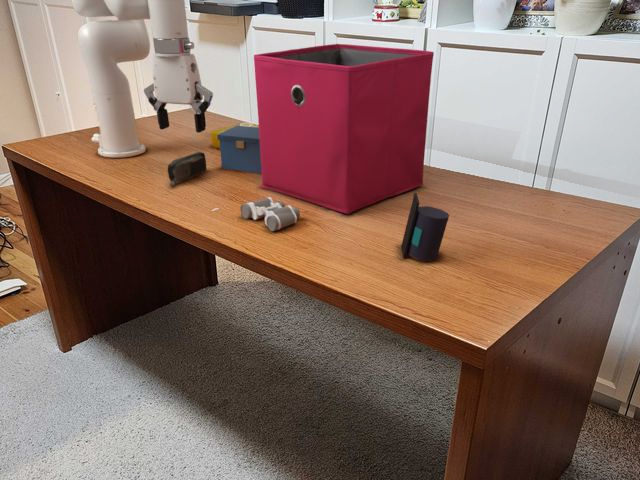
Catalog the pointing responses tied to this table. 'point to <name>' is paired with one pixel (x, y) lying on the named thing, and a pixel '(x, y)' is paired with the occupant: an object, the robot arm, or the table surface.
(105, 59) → the robot arm
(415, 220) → the speaker
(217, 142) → the element tile
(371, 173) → the storage bin
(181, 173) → the mobile phone
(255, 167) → the blue box
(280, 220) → the binoculars
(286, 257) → the table surface
